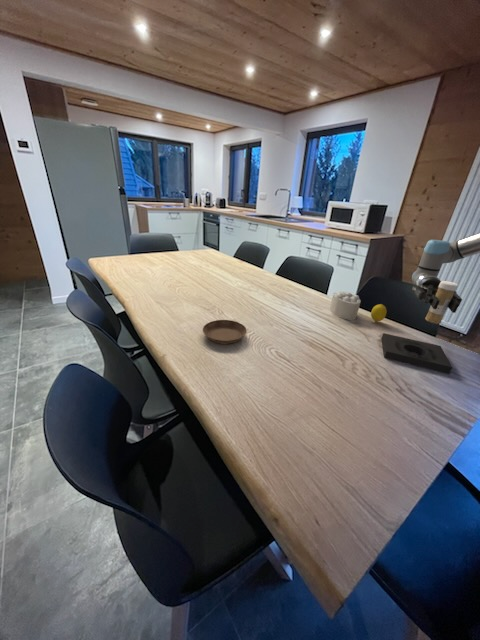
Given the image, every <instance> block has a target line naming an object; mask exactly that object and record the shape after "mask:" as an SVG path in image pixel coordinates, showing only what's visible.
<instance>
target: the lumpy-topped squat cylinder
mask: <svg viewBox="0 0 480 640" xmlns="http://www.w3.org/2000/svg"><path fill="white" fill-rule="evenodd" d="M361 301H362V300H361V299H360V296H359V295H358V294H353V293H351V292H350V291H338V292H334V293H332V298H331V301H330V306H329V310H330V312H331V313H332V314H333V315H334V316H336V317H338V318H341V319H345V320H349V321H351V320H355V319H356V318H357V315H358V313H359V309H360V305H361V303H362V302H361Z"/></svg>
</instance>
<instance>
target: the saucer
mask: <svg viewBox="0 0 480 640" xmlns="http://www.w3.org/2000/svg"><path fill="white" fill-rule="evenodd" d="M202 333H203V334H204V335H205V337H206V338H207V339H208V340H210V341H212V342H214V343H216V344H223V345H227V344H228V345H229V344H233V343H237V342H238V341H240V340H241V339H243V338H244V337H245V335H246V334H247V328H246V326H245V325H244V324H243V323H240V322H239V321H235V320H229V319H217V320H211V321H209V322H207V323H206V324H204V326H203V327H202Z"/></svg>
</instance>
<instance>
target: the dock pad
mask: <svg viewBox="0 0 480 640" xmlns="http://www.w3.org/2000/svg"><path fill="white" fill-rule="evenodd" d="M380 340H381V347H382V352H383V353H382V354H383V358H384V359H387V360H390V361H391V360H392V361H395V362H399V363H404V364H407V365H411V366H415V367H418V368H423V369H428V370H431V371H436V372H439V373H444V374H446V375H447V374H448V375H450V374H451V372H452V370H453V365H452V364H451V361H450V359H449V358H448V357H447V354H446V353H445V351H444V350H443V347H442V346H441V345H438V344H434V343H430V342H425V341H421V340H417V339H411V338H407V337H403V336H398V335H393V334H389V333H385V332H382V335H381V339H380Z"/></svg>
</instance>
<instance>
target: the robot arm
mask: <svg viewBox="0 0 480 640" xmlns="http://www.w3.org/2000/svg"><path fill="white" fill-rule="evenodd" d="M479 254H480V232H478V233H475V234H472V235H469V236H466V237H464V238H462V239H459V240H456V241H452V242H449V241H447V240H442V239H429V240H428V241H427V242H426V244H425V247H424V248H423V252H422V255H421V258H420V260H419V263H418V266H417V268H416V270H415V271H413V273H412V276H411V280H412V281H411V282H412V284H413V285H412V289H411V292H412V293H413V294H415V297H416V298H417V299H418V300H421V301H422V300H424V301H423V303H424V304H429V305H430V306H432V308H433V309H437V306H438V304H439V302H440V301H439V300H438V298H437V297H436V296H435V295H436V293H437V291H438V289H439V284H440V282H441V281H442V280H440V278H438V276H439V273H440V271H441V270H442V268H443V267H442V266H443V264H450V263H454V262H457V261H459V260H462V259H465V258H469V257H471V256H476V255H479ZM461 297H462V296H460V295H459V294H458V291H457V290H455V292H454V294H453V296H452V299H451V301H450V303H449V306H448V308H447V309H449V310H450V312H451V313H454V314H456V313H457V311H458V308H459V307H460V305H461V303H462V301H463V299H462V298H461Z"/></svg>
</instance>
